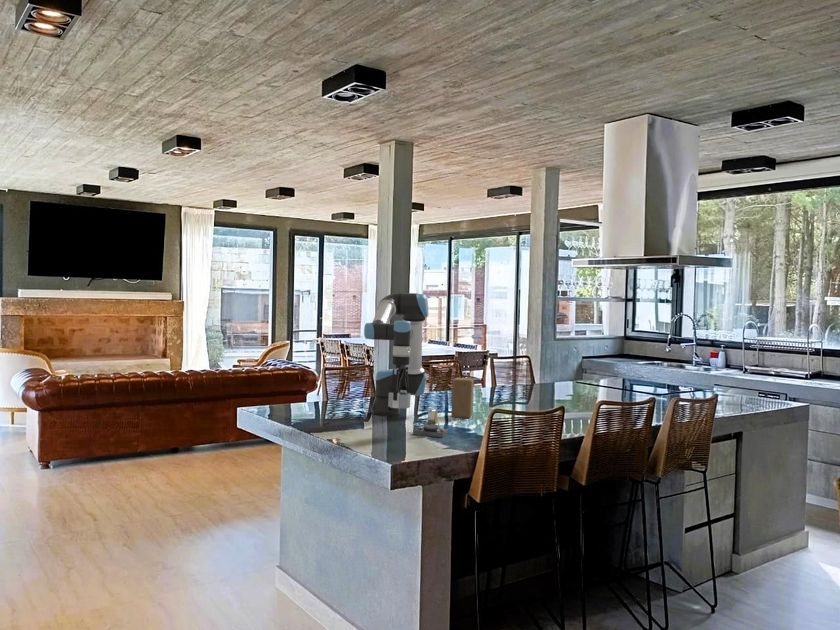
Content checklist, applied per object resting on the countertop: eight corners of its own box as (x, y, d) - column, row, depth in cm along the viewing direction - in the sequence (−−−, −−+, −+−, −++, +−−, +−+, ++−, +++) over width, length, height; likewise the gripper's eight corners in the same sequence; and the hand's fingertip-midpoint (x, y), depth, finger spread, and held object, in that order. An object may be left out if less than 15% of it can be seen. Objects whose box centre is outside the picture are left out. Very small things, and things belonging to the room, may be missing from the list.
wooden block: (470, 418, 367) (471, 380, 366) (451, 417, 369) (452, 379, 368) (472, 415, 377) (474, 378, 376) (453, 414, 379) (455, 377, 378)
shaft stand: (412, 434, 319) (413, 410, 318) (419, 430, 328) (420, 407, 328) (442, 437, 314) (443, 413, 314) (448, 433, 324) (449, 409, 323)
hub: (386, 407, 311) (386, 393, 311) (393, 404, 320) (393, 391, 320) (405, 409, 309) (405, 395, 308) (412, 406, 317) (412, 392, 317)
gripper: (400, 358, 302) (398, 410, 303) (417, 354, 323) (415, 403, 323) (384, 356, 304) (382, 408, 305) (401, 353, 325) (399, 402, 326)
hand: (399, 406), depth 314 cm, fingers closed on hub, 9 cm apart
